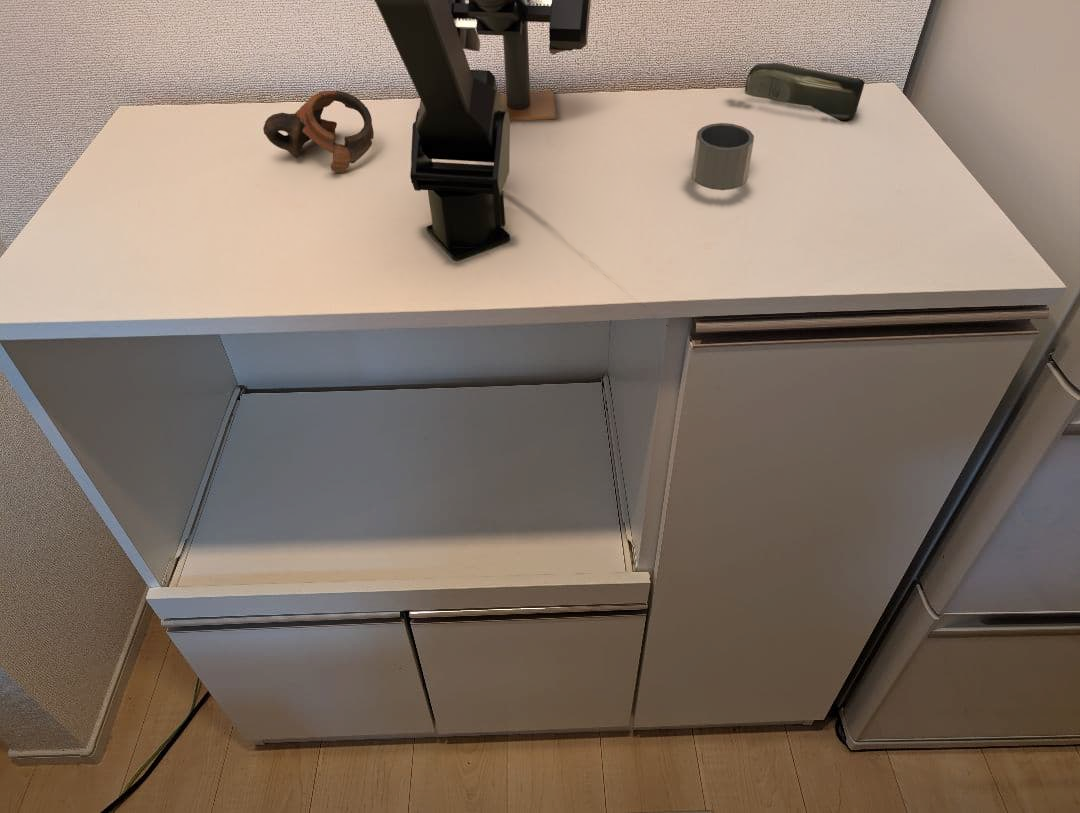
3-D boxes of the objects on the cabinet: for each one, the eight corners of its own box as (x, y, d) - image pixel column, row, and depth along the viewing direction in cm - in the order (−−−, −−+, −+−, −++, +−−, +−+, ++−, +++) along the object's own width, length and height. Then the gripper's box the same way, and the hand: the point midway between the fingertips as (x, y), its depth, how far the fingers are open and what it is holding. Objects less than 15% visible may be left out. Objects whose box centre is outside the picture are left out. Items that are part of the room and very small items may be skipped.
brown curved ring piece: (355, 131, 99) (368, 82, 92) (372, 194, 96) (388, 149, 89) (254, 128, 93) (260, 76, 87) (270, 196, 91) (278, 148, 84)
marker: (532, 109, 100) (528, -20, 89) (506, 111, 100) (499, -18, 89) (530, 98, 102) (525, -29, 92) (505, 100, 102) (498, -28, 92)
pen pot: (714, 208, 84) (722, 155, 80) (679, 184, 87) (685, 132, 83) (756, 191, 86) (765, 139, 82) (720, 169, 89) (727, 118, 85)
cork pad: (483, 122, 99) (483, 118, 99) (483, 97, 104) (483, 94, 104) (555, 118, 99) (555, 115, 99) (552, 94, 104) (552, 91, 104)
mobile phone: (867, 74, 95) (741, 55, 99) (864, 85, 93) (736, 65, 97) (855, 114, 98) (734, 94, 102) (852, 125, 96) (729, 104, 100)
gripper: (591, -100, 79) (599, -17, 95) (409, -103, 82) (446, -21, 97) (580, 12, 79) (590, 77, 95) (399, 6, 82) (438, 70, 97)
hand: (515, 48), depth 96 cm, fingers open, 9 cm apart
